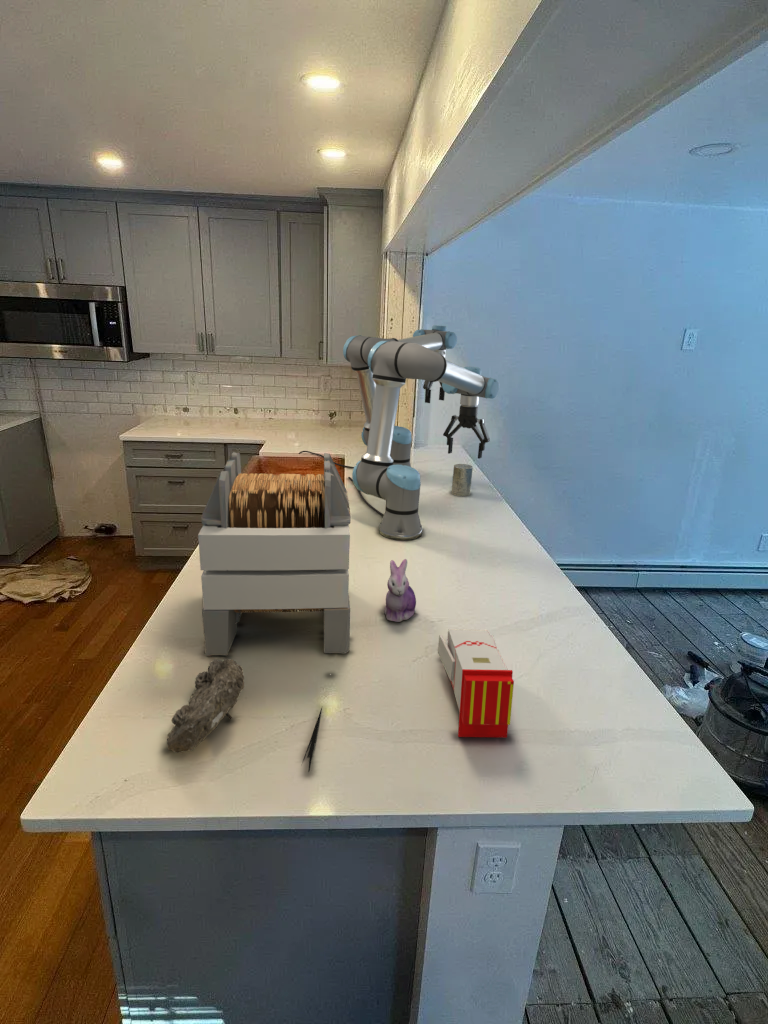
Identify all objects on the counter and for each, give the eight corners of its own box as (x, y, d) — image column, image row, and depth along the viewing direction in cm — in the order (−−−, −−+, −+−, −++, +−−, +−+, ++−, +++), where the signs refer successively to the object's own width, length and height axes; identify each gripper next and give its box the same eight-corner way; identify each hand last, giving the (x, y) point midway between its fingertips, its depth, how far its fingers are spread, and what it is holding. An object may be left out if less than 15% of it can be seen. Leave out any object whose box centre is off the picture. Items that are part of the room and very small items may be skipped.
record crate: (226, 586, 157) (217, 442, 143) (344, 585, 161) (346, 445, 147) (202, 658, 125) (189, 482, 112) (350, 654, 129) (354, 483, 115)
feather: (331, 679, 122) (336, 673, 122) (307, 777, 96) (313, 769, 95) (324, 675, 122) (329, 669, 121) (298, 772, 95) (304, 764, 95)
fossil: (192, 660, 117) (244, 628, 112) (224, 691, 120) (276, 661, 115) (142, 746, 98) (202, 712, 93) (182, 779, 101) (242, 748, 96)
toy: (488, 613, 130) (523, 677, 101) (484, 667, 133) (517, 744, 104) (435, 612, 130) (455, 676, 101) (432, 666, 133) (451, 743, 103)
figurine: (392, 627, 141) (395, 572, 136) (374, 608, 149) (376, 556, 144) (425, 619, 145) (429, 566, 140) (405, 601, 154) (408, 550, 149)
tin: (447, 491, 249) (450, 464, 244) (462, 489, 253) (465, 463, 248) (458, 497, 242) (461, 469, 238) (473, 495, 246) (476, 467, 242)
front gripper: (500, 407, 232) (495, 458, 239) (445, 401, 243) (441, 449, 250) (494, 410, 226) (489, 461, 233) (437, 403, 237) (434, 452, 244)
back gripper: (430, 360, 269) (427, 404, 276) (456, 357, 288) (453, 399, 295) (417, 358, 273) (414, 402, 280) (444, 356, 292) (440, 398, 299)
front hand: (464, 455), depth 242 cm, fingers open, 13 cm apart
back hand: (434, 401), depth 288 cm, fingers open, 13 cm apart
